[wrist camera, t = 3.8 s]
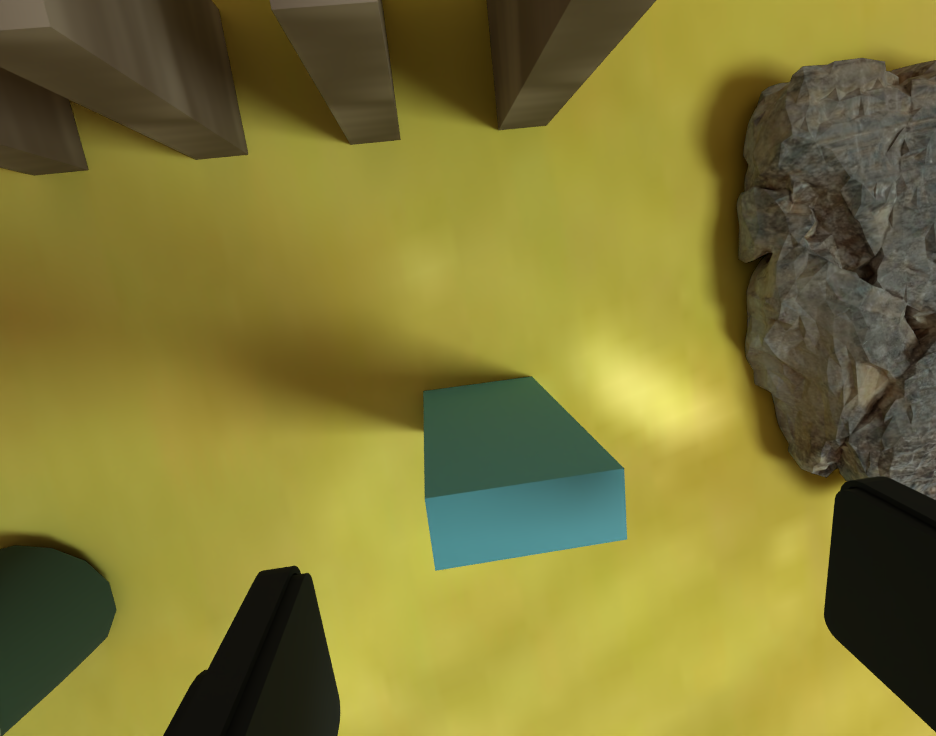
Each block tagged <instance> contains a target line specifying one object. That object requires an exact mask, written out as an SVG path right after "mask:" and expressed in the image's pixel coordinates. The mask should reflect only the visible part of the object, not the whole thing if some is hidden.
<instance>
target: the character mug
mask: <svg viewBox="0 0 936 736" xmlns="http://www.w3.org/2000/svg"><path fill="white" fill-rule="evenodd" d="M115 613H116V606H115V602H114V599H113V595H112V592H111V588H110V584H109V582H108V581H107V580H106V579H105V578H103V577H102V576H101V575H100V574H99V573H98V572H97V571H96V570H95V569H94V568H93V567H92V566H90V565H89V564H88V563H87V562H86V561H84V560H81V559H79V558H76V557H74V556H71V555H68V554H66V553H63V552H60V551H58V550H55V549H53V548H44V547H30V546H16V545H15V546H11V547H7V548H3V549H0V736H3V735H4V734H5V733H6V732H7V731H8V730H9V729H10V728H11V727H13V726H14V725H15V724H16V723H17V722H18V721H19V720H20V719H21V718H22V717H24V716H25V715H26V714H27V713H28V712H29V711H30V710H31V709H32V708H33V707H35V706H36V705H37V704H38V703H39V702H40V701H41V700H42V699H43V698H44V697H46V696H47V695H48V694H49V693H50V692H51V691H52V690H53V689H54V688H55V687H56V686H58V685H59V684H60V683H61V682H62V681H63V680H64V679H65V678H66V677H67V676H68V675H69V674H70V673H71V672H72V671H73V670H74V669H75V668H76V667H77V666H79V665H80V664H81V663H82V662H83V661H84V660H85V659H86V658H87V657H88V656H89V655H90V654H91V653H92V652H93V651H94V650H95V649H96V648H97V647H98V646H99V645H100V644H101V643H102V642H103V641H104V640H105V639H106V638H107V637H108V634H109V631H110V628H111V625H112V622H113V619H114V616H115Z"/></svg>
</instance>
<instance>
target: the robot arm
mask: <svg viewBox="0 0 936 736" xmlns="http://www.w3.org/2000/svg"><path fill="white" fill-rule="evenodd" d="M824 618H825V622H826V625H827V627H828V629H829V630H830V632H831V633H832V635H833V636H834V637H835V638H836V639H837V640H838V641H839V642H840V643H841V644H842V645H843V646H844V647H845V648H846V649H847V650H849V651H850V652H851V653H852V654H853V655H854V656H855V657H856V658H857V659H858V660H859V661H860V662H861V663H862V664H863V665H865V666H866V667H867V668H868V669H869V670H870V671H871V672H872V673H873V674H874V675H875V676H876V677H877V678H878V679H880V680H881V681H882V682H883V683H884V684H885V685H886V686H887V687H888V688H889V689H890V690H891V691H892V692H893V693H894V694H896V695H897V696H898V697H899V698H900V699H901V700H902V701H903V702H904V703H905V704H906V705H907V706H908V707H909V708H911V709H912V710H913V711H914V712H915V713H916V714H917V715H918V716H919V717H920V718H921V719H922V720H923V721H924V722H925V723H927V724H928V725H929V726H930V727H931V728H932V729H933V730H934V731H935V732H936V500H935V499H933V498H930V497H928V496H926V495H924V494H922V493H920V492H918V491H916V490H914V489H912V488H910V487H908V486H906V485H903V484H901V483H899V482H897V481H895V480H893V479H891V478H888V477H885V476H876V477H869V478H863V479H856V480H850V481H847V482H845V483H844V484H843V485H842V487H841V490H840V491H839V492H838V493H837V494H836V497H835V504H834V514H833V524H832V535H831V545H830V556H829V566H828V577H827V587H826V598H825V608H824ZM339 723H340V700H339V694H338V690H337V686H336V681H335V677H334V672H333V668H332V664H331V659H330V655H329V651H328V646H327V642H326V637H325V633H324V629H323V624H322V620H321V616H320V611H319V607H318V602H317V598H316V594H315V589H314V585H313V581H312V577H311V575H310V574H309V573H305V574H301V573H300V570H299V569H298V567H296V566H290V567H284V568H277V569H271V570H264V571H261V572H259V573H258V575H257V576H256V578H255V580H254V582H253V584H252V586H251V588H250V589H249V591H248V593H247V595H246V597H245V599H244V601H243V603H242V605H241V607H240V609H239V611H238V612H237V614H236V616H235V618H234V620H233V622H232V624H231V626H230V628H229V630H228V632H227V634H226V635H225V637H224V639H223V641H222V643H221V645H220V647H219V649H218V651H217V653H216V655H215V657H214V658H213V660H212V662H211V664H210V666H209V668H208V670H204V671H203V672H201V673H200V674H199V675H197V677H196V678H195V680H194V681H193V683H192V684H191V685H190V687H189V689H188V691H187V693H186V695H185V696H184V698H183V700H182V702H181V704H180V706H179V707H178V709H177V711H176V713H175V715H174V717H173V718H172V720H171V722H170V724H169V726H168V728H167V730H166V731H165V733H164V735H163V736H337V735H338V729H339Z"/></svg>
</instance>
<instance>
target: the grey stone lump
mask: <svg viewBox="0 0 936 736" xmlns="http://www.w3.org/2000/svg"><path fill="white" fill-rule="evenodd" d="M743 156H744V158H745V160H746V161H747V163H748V165H749V166H748V169H747V172H746V176H745V188H744V192H742V193H741V194H740V196H739V198H738V201H737V212H738V219H739V260H741V261H743V262H745V263H747V262H750V261H753V260H755V259H757V258H759V257H761V256H763V255H765V254H767V253H769V254H768V255H766V256H765V257H764V258H763V259H762V260H761V261H760V262H759V264H758V266H757V267H756V269H755V271H754V272H753V274H752V276H751V279H750V282H749V286H748V289H747V314H748V321H747V323H748V330H747V334H746V341H745V352H746V358H747V360H748V362H749V364H750V366H751V367H752V369H753V370H754V381H755V384H756V385H758V386H760V387H762V388H764V389H766V390H767V391H769V392H771V393H772V398H773V401H774V404H775V410H776V417H777V420H778V424H779V427H780V429H781V430H782V432H783V434H784V436H785V438H786V439H787V441H788V443H789V446H788V452H789V453H790V454H791V456H792V457H793V458H794V460H795V461H796V462H797V464H798V465H799V466H800V468H801V469H803V470H805V471H808V472H811V473H814V474H817V475H820V476H823V477H826V478H827V477H828V476H829V475H830V474H831V472H832V471H833V470H835V469H837V468H839V470H840V474H841V475H842V476H843V477H844V479H845V480H846V481H850V480H856V479H863V478H869V477H876V476H885V477H888V478H891V479H893V480H895V481H897V482H899V483H901V484H903V485H906V486H908V487H910V488H912V489H914V490H916V491H918V492H920V493H922V494H924V495H926V496H928V497H930V498H933V499H935V500H936V60H934V61H929V62H924V63H919V64H915V65H911V66H907V67H903V68H899V69H896V70H892V71H891V72H889V71H886V67H885V62H883V61H877V60H871V59H865V58H858V59H850V60H842V61H834V62H832V63H830V64H828V65H816V66H803V67H802V68H800V69H799V70H798V71H797V72H796V73H795V74H793V75H792V78H791V81H790V82H789V83H779V84H776V85H773V86H770V87H768V88H767V89H765V90H764V91H762V92H761V95H760V98H759V102H758V105H757V108H756V109H755V111H754V113H753V115H752V117H751V119H750V121H749V123H748V128H747V134H746V139H745V144H744V154H743Z"/></svg>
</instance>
